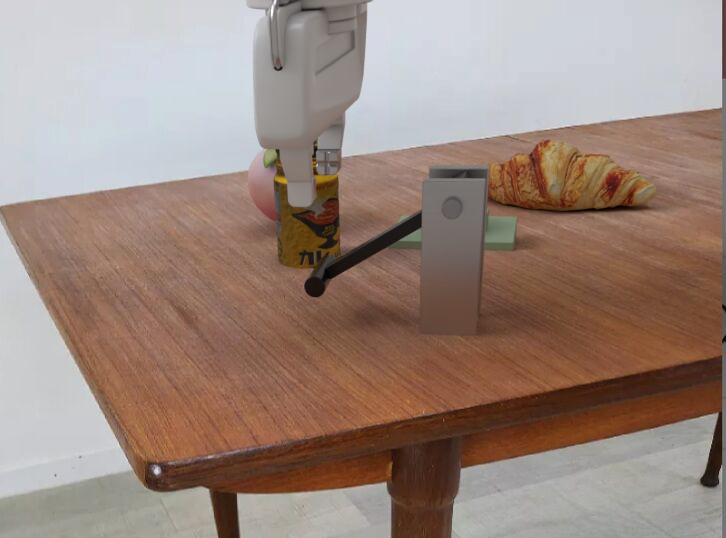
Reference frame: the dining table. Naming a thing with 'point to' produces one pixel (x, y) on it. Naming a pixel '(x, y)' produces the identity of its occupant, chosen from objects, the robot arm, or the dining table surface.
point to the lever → (360, 253)
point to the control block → (496, 235)
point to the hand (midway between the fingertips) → (316, 188)
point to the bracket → (452, 249)
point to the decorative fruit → (263, 181)
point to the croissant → (566, 180)
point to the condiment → (307, 220)
